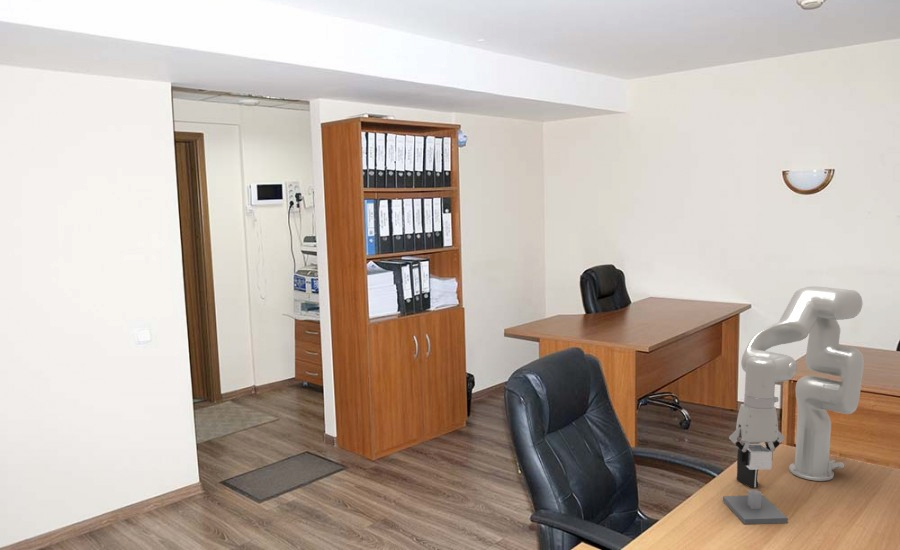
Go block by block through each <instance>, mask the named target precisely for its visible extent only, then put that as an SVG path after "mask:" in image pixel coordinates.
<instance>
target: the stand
mask: <svg viewBox="0 0 900 550" xmlns="http://www.w3.org/2000/svg"><path fill="white" fill-rule="evenodd" d="M722 503H724V504H725V505H726V506H727V508H728V509H729V510H730V511H731V510H732V511H731V512H732V513H733V514H734V515H735V516H736V517H737V519H739V520H740V521H741V523H742V524H743V525H764V524H765V525H770V524H771V525H773V524H774V525H777V524H788V523H789V521H788V520H789V519H788V517H787V516H786V515H785V514H784V513H783V512H782V510H780V509H779V508H778V507H777V506H775V505H774V504H773V503H772V501H770V500H769V499H768V498H767V497H766V496H765V495H764V494H762V492H761V491H760V490H758V489H748V490H747V494H745V495H722Z"/></svg>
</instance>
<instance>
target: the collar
mask: <svg viewBox="0 0 900 550" xmlns="http://www.w3.org/2000/svg"><path fill="white" fill-rule="evenodd" d="M747 452H748V465H747V466H746V467H748V468H749V469H750V470H758V471H759V470H760V471H761V470H772V465H773V458H772V451H770V450H769V449H768V448H766V445H764V444H763V443H750V444H749V446H748V448H747Z"/></svg>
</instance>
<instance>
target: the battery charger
mask: <svg viewBox="0 0 900 550" xmlns="http://www.w3.org/2000/svg"><path fill="white" fill-rule="evenodd" d="M736 454H737V456H736V458H737V459H736V469H737V470H736V480H737V481H738V482H740V483H742V484H744V485H745V486H747V487H750V488H757V487H759V482H758V476H759V474H758V473H759V470H750V469H749V468H748V467H746V466H745V465H743V464H742V463H741V461H740V460H739V456H740V449H739V448H738V449H737V453H736Z"/></svg>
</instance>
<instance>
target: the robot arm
mask: <svg viewBox="0 0 900 550" xmlns="http://www.w3.org/2000/svg"><path fill="white" fill-rule="evenodd" d="M862 308H863V298H862V296H861V294H860V292H858V291H856V290H854V289H853V290H852V289H845V288H834V287H827V286H807V287H803V288H800V289H798V290H796V291H795V292H794V293H793V295H792V297H791V298H790V300H789V303H788V304H787V305H786V308H785V309H784V311H783V313H782V315H781V317H780V319H779V321H778V322H775V323H773V324H772V325H769V326H767V327H765V328H764V329H762V330H760V331H758V333H756V334H755V335H754V336H753V337H752V338H751V339H750V341H749V342H748V345H747V346H746V348H745V350H744V352H743V354H742V357H741V362H740V363H741V368H742V370H743V372H745V379H744V380H745V381H744V383H745V384H744V399H743V403H741V404H740V406H739V410H738V413H737V419H736V426H735V427H736V428H735V430H734V431H733V432H732V433H731V434H730V435H729V437H728V439H729V440H730V441H731V442H732V443H733V444H734V445H735V446H736V447H737V448H738V449H740V456H739V460H740V461H741V463H742V464H743V465H745V466H747V465H748V452H747V448H748V446H749V444H755V443H764V444H765V445H764V446H765V447H766V448H768V449H769V450H770V451H772V459H773V454H774V452H775V451H776V449H777V448H778V447H779V446H780V444H782V442H783V441H785V439H786V437H785V436H784V435H783V433H782V432H781V431H780V430H779V422H778V420H779V419H778V414H777V409H776V408H777V407H776V406H775V403H778V402H779V397H777V396H775V390H776V389H775V388H776V387H775V386H776V383H780V382H788V381H790V380H792V378H794V376H796V374H797V370H798V365H797V362H796V360H795V359H794V358H793V357H791V356H789V355H788V354H784V353H777V352H772V351H767V350H769V349H771V348H773V347H777V346H781V345H787V344H791V343H796V342H801V341H803V340H806V339H807V337H808V340H807V347H806V354H805V366H806V368H807V369H809V370H810V371H812V372H815V373H819V374H825V375H829V376H835V377H840V378H841V381H840V380H836V379H830V378H827V377H821V376H817V375H805V376H801V377H800V378H799V379H798V380H797V382H796V384H795V389H794V390H795V391H794V392H795V398H796V406H797V422H796V439H795V453H794V454H795V455H794V457H795V460H794V462H792V463H791V464H789V466H788V467H789V472H790V473H791V474H792V475H794V476H796V477H799V478H801V479H805V480H807V481H808V480H809V481H815V482H826V481H831V480H832V479H833V478H834V477H835V473H834V471H833V470H835V469H836V470H837V469H838V470H839V469H844V468H845V464H844V462H842V461H839V462H838V461H837V462H836V460H835V459H830V450H831V448H830V447H831V433H832V420H831V417H830V415H829V413H828V411H830V412H834V413H840V414H844V415H851V414H853V413H854V412H856V411H857V408H858V406H859V402H860V395H861V390H862V382H863V375H864V370H865V368H864V367H865V361H864V360H865V359H864V355H863V353H862V351H860V350H859V349H858V348H856V347H851V346H846V345H840V337H841V336H840V335H841V327H840V324H839V322H838V321H843V320H849V319H850V320H851V319H854V318H856V317H857V316H858V315H859V314H860V313H861V311H862ZM737 438H741V439H740V441H739V440H738V439H737Z"/></svg>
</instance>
